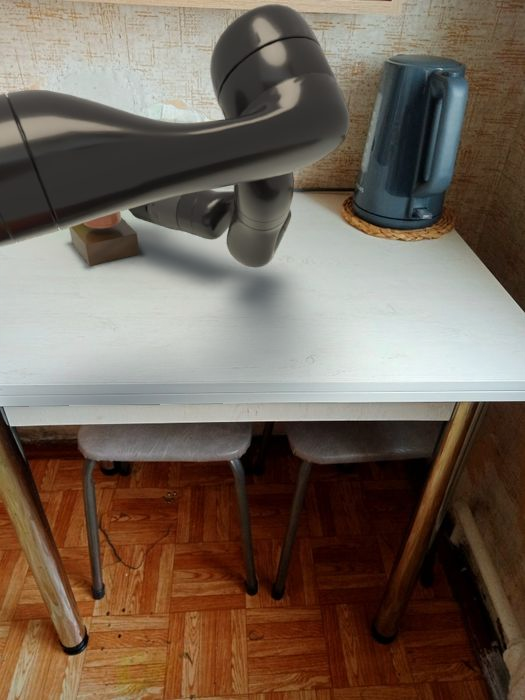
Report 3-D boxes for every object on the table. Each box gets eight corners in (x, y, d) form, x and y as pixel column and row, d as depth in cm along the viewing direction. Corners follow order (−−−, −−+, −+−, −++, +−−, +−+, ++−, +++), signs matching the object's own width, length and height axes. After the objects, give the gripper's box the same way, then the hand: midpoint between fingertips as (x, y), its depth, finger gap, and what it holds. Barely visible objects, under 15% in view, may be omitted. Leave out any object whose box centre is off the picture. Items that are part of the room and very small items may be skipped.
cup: (90, 231, 84) (80, 178, 78) (77, 216, 88) (67, 164, 82) (126, 223, 87) (120, 171, 81) (113, 209, 91) (105, 158, 85)
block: (89, 266, 86) (85, 245, 84) (72, 243, 92) (68, 223, 89) (139, 254, 90) (137, 233, 88) (120, 233, 96) (117, 213, 93)
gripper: (192, 163, 81) (111, 142, 86) (132, 193, 71) (45, 166, 76) (194, 208, 85) (117, 185, 91) (137, 241, 75) (55, 213, 81)
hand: (84, 177), depth 84 cm, fingers closed on cup, 6 cm apart
